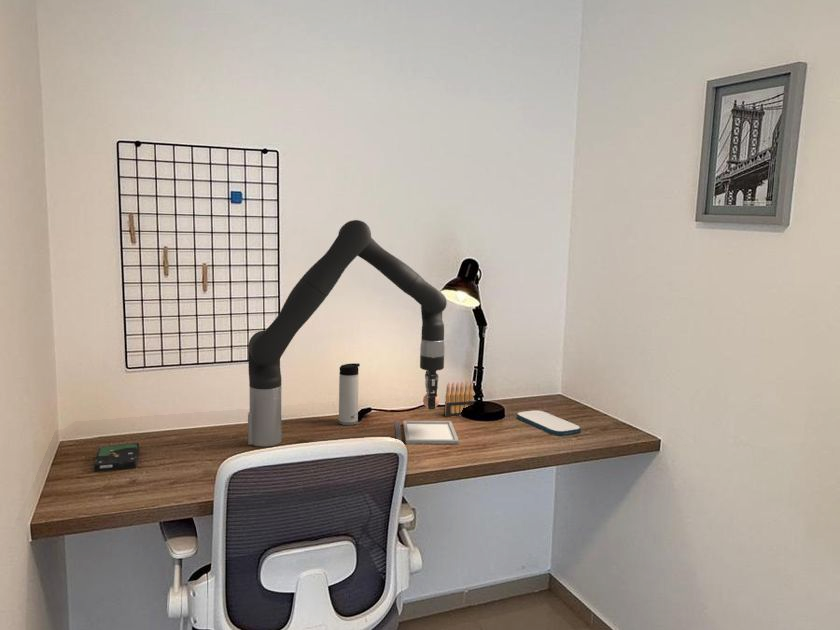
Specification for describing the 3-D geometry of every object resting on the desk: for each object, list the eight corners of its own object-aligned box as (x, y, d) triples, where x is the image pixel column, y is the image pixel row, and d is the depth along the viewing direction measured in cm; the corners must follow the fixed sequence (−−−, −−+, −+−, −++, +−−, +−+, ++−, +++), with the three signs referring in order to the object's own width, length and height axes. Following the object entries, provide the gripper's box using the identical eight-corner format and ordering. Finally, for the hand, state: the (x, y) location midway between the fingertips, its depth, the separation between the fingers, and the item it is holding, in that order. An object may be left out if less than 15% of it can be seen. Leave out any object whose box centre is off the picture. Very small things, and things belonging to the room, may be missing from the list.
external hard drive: (512, 418, 233) (513, 412, 233) (539, 414, 238) (539, 409, 238) (556, 438, 212) (557, 432, 212) (584, 434, 218) (584, 428, 217)
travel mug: (357, 426, 217) (358, 366, 214) (337, 425, 217) (338, 365, 215) (359, 420, 223) (360, 362, 221) (340, 419, 223) (340, 361, 221)
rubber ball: (423, 410, 208) (423, 394, 207) (422, 406, 213) (422, 390, 212) (439, 410, 208) (439, 394, 207) (437, 406, 213) (438, 390, 212)
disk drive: (137, 470, 175) (139, 451, 189) (137, 460, 175) (139, 442, 189) (94, 474, 172) (98, 454, 185) (93, 464, 171) (98, 445, 185)
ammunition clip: (445, 417, 230) (447, 383, 229) (443, 415, 232) (444, 382, 230) (473, 415, 234) (475, 381, 232) (471, 413, 236) (472, 380, 234)
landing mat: (397, 445, 200) (397, 441, 200) (394, 423, 221) (394, 419, 221) (459, 445, 201) (459, 441, 201) (450, 423, 223) (450, 420, 223)
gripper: (418, 349, 215) (417, 400, 217) (421, 358, 200) (420, 413, 203) (441, 349, 215) (440, 400, 218) (446, 358, 201) (445, 413, 203)
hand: (430, 406), depth 210 cm, fingers closed on rubber ball, 5 cm apart
